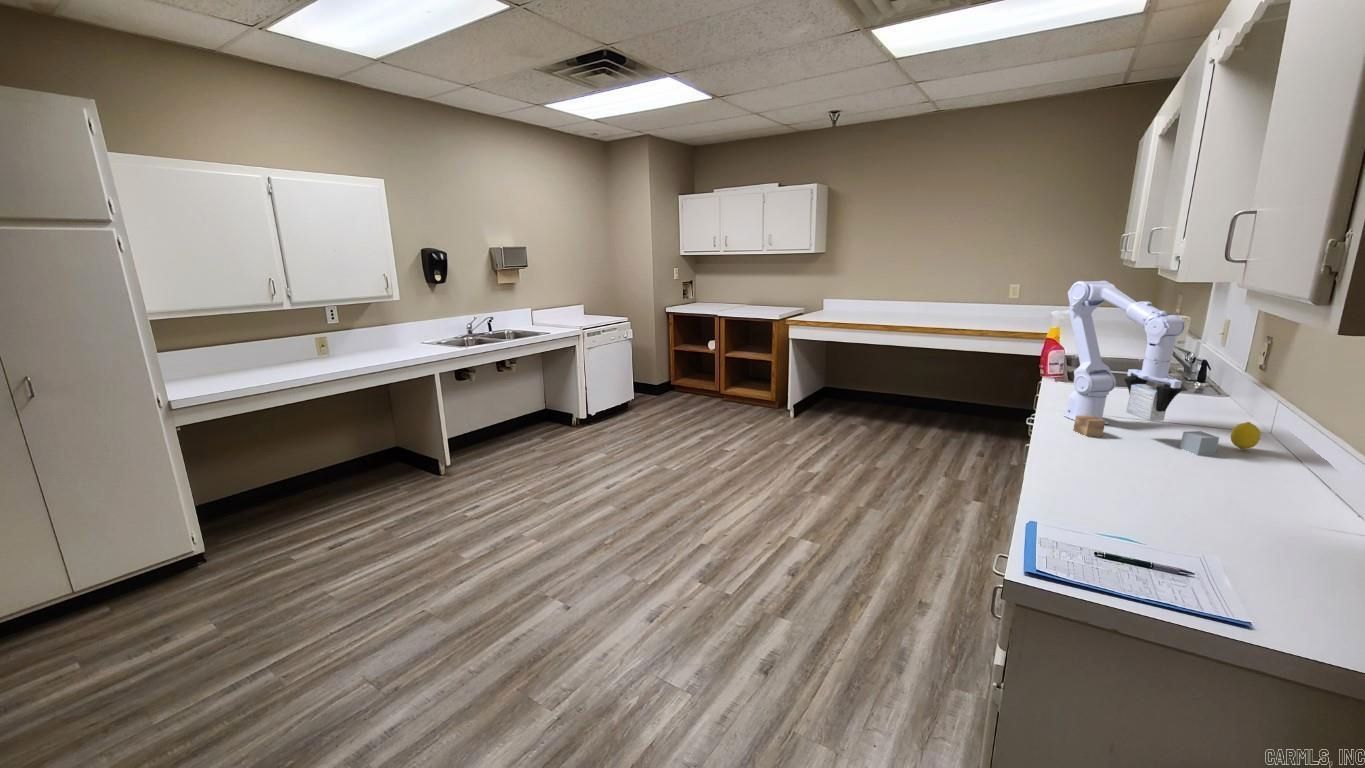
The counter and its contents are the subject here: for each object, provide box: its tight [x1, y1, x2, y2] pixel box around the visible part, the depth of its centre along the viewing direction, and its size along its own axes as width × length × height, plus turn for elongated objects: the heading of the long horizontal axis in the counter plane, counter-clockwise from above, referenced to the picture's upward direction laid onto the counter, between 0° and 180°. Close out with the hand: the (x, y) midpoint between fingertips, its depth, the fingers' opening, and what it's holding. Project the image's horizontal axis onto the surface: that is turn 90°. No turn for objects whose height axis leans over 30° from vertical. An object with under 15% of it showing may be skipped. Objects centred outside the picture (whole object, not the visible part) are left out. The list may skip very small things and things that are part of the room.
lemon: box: [1230, 421, 1261, 451], centre depth 148 cm, size 6×6×8 cm
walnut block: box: [1072, 415, 1106, 437], centre depth 162 cm, size 5×5×5 cm
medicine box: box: [1125, 383, 1167, 422], centre depth 155 cm, size 8×4×9 cm, turn 3°
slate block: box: [1179, 430, 1220, 456], centre depth 148 cm, size 5×5×5 cm
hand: (1147, 406), depth 155 cm, fingers closed on medicine box, 7 cm apart
